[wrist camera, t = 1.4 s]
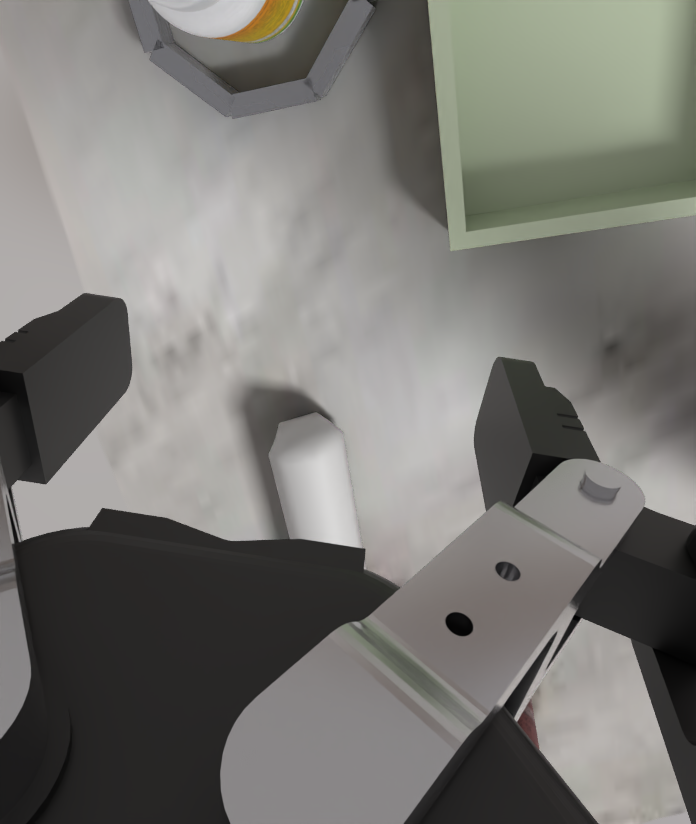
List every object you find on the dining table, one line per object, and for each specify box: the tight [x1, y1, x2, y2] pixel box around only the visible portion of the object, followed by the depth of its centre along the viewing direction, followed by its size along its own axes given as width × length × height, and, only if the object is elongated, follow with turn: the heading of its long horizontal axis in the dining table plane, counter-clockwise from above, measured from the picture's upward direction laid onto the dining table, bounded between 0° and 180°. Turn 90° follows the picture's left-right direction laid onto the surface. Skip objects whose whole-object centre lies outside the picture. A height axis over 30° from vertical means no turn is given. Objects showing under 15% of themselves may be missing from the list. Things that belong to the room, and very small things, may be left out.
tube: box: [268, 412, 367, 570], centre depth 42 cm, size 5×5×25 cm
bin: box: [427, 0, 696, 251], centre depth 24 cm, size 14×14×4 cm
